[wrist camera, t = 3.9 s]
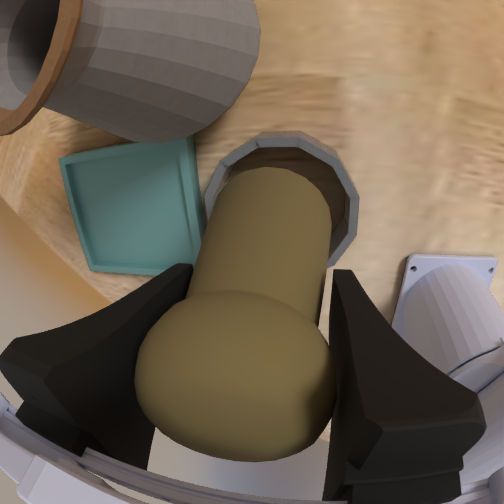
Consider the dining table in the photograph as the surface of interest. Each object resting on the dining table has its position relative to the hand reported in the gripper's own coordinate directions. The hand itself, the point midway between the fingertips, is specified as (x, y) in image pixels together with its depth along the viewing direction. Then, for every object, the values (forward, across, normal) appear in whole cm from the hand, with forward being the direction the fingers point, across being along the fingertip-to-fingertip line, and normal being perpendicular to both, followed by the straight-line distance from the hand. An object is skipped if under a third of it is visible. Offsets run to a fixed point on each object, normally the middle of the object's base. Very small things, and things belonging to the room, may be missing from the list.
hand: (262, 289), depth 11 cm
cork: (+5, 0, 0) cm, 5 cm away
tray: (+9, +11, 0) cm, 15 cm away
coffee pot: (+10, +11, -10) cm, 18 cm away
